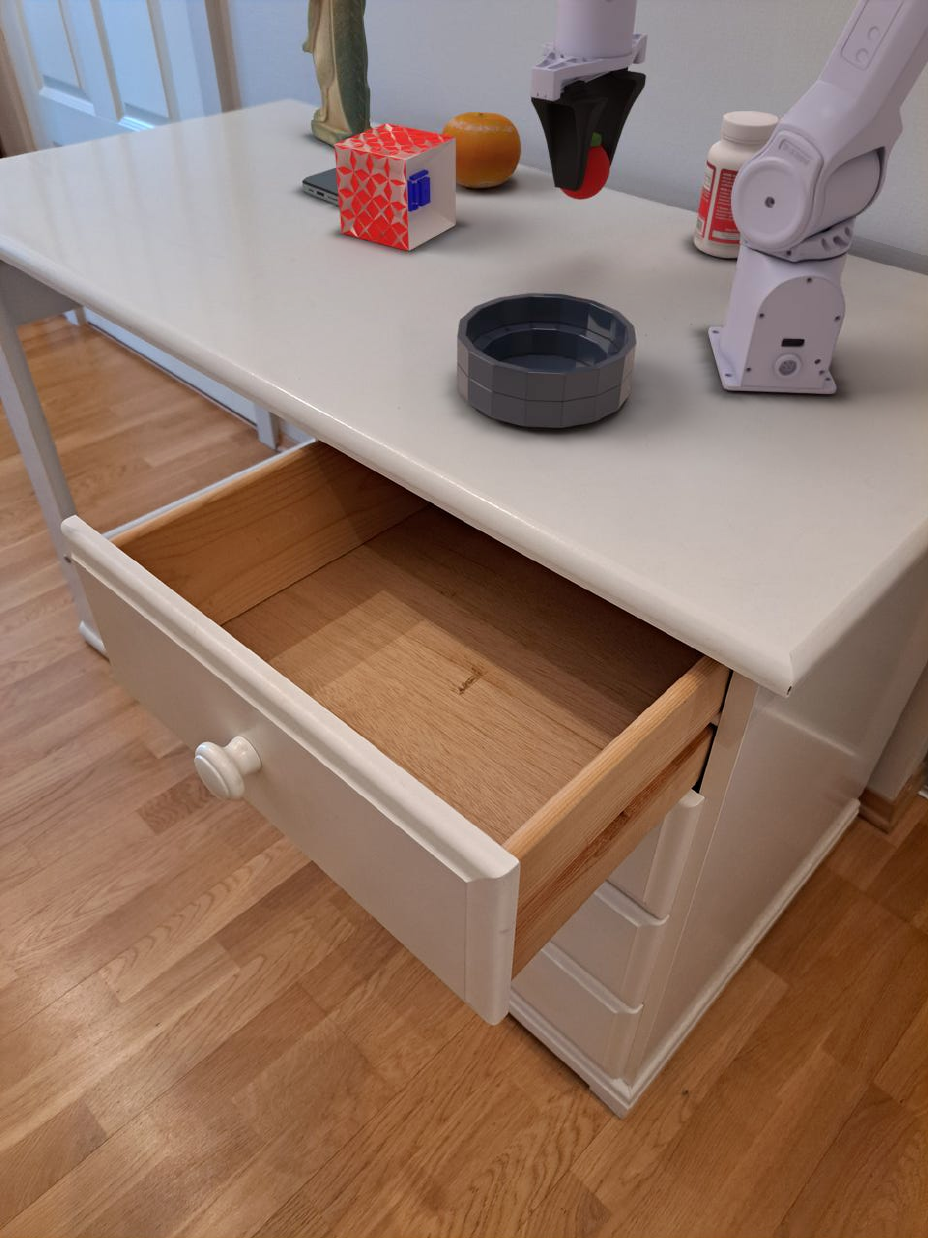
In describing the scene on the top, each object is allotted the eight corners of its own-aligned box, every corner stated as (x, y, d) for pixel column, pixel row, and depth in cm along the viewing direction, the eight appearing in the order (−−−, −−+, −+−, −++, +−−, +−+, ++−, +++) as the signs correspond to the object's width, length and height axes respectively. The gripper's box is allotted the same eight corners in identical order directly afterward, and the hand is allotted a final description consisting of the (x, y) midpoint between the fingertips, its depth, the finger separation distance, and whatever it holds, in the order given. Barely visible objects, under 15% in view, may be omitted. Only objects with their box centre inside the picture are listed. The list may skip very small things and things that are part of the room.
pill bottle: (773, 251, 86) (804, 120, 78) (726, 265, 83) (753, 131, 76) (725, 230, 89) (750, 103, 82) (678, 243, 87) (699, 113, 79)
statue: (346, 126, 114) (327, -134, 97) (387, 142, 110) (375, -128, 92) (299, 137, 111) (271, -131, 94) (340, 153, 106) (319, -125, 89)
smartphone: (296, 178, 96) (403, 142, 104) (299, 195, 97) (404, 158, 105) (342, 196, 92) (450, 158, 100) (344, 213, 93) (451, 174, 101)
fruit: (530, 134, 100) (498, 71, 94) (535, 189, 96) (501, 127, 90) (461, 167, 104) (426, 109, 97) (463, 221, 100) (426, 164, 94)
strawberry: (607, 208, 74) (614, 144, 71) (552, 206, 74) (557, 143, 71) (605, 189, 77) (611, 128, 74) (553, 188, 78) (557, 126, 74)
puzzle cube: (390, 208, 93) (386, 122, 88) (455, 224, 90) (455, 136, 85) (341, 233, 88) (333, 144, 83) (408, 251, 85) (405, 159, 80)
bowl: (632, 437, 62) (642, 376, 59) (451, 430, 62) (451, 369, 59) (622, 352, 71) (629, 295, 68) (464, 346, 71) (464, 290, 68)
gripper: (597, -40, 72) (581, 148, 81) (496, -14, 63) (491, 195, 72) (681, -32, 69) (655, 163, 78) (587, -3, 60) (570, 213, 69)
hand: (581, 179), depth 75 cm, fingers closed on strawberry, 4 cm apart
